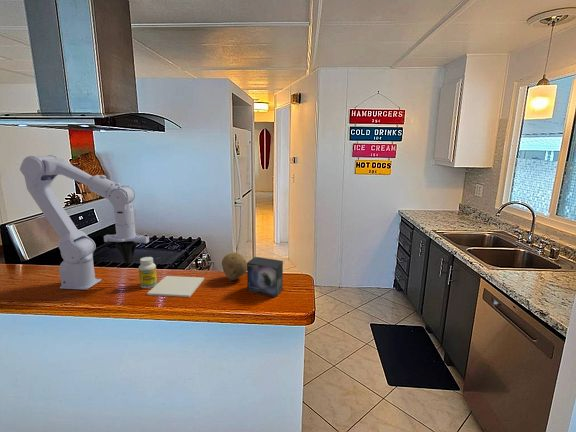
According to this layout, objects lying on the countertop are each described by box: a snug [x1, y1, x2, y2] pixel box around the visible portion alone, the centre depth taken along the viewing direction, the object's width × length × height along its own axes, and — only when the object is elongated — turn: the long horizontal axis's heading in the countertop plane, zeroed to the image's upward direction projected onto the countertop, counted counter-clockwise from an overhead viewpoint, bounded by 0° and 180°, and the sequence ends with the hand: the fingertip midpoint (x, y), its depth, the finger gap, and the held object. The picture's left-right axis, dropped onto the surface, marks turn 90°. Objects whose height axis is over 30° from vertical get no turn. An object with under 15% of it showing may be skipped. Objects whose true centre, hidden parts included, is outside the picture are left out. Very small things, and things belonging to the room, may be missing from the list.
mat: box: [146, 275, 205, 298], centre depth 109 cm, size 14×14×1 cm
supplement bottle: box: [138, 256, 158, 289], centre depth 109 cm, size 5×5×10 cm
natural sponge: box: [221, 252, 248, 281], centre depth 114 cm, size 9×9×10 cm
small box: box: [246, 256, 284, 298], centre depth 106 cm, size 11×6×10 cm, turn 70°
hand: (128, 262), depth 108 cm, fingers closed
